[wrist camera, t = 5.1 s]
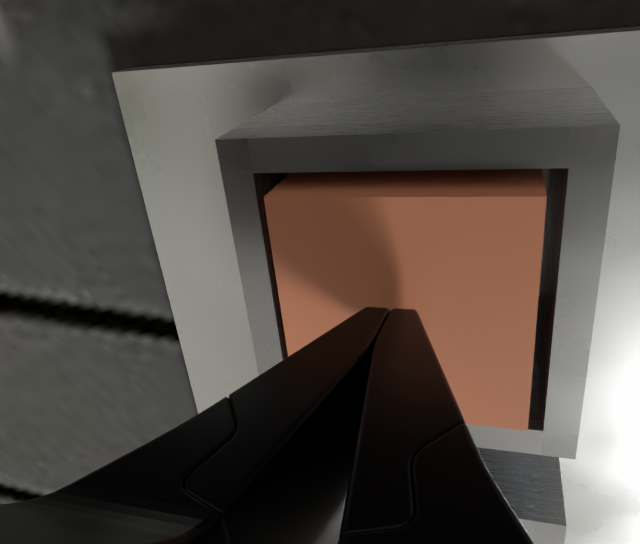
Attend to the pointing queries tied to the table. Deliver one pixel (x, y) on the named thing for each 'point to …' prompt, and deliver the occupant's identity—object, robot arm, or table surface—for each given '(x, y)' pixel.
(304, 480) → the robot arm
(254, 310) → the key panel
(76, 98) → the table surface
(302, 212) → the rust key
